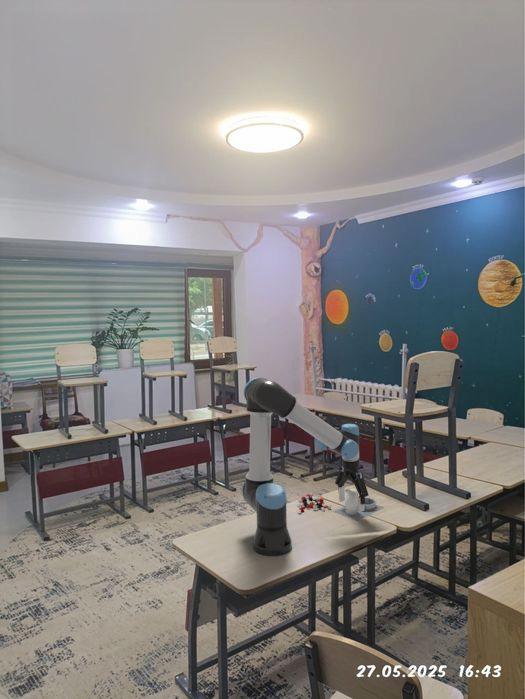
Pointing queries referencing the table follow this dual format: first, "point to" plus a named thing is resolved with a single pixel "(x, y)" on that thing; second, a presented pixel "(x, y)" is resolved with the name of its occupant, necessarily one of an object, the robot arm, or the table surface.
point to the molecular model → (312, 504)
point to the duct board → (360, 514)
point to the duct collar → (371, 504)
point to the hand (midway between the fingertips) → (351, 505)
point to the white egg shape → (351, 502)
